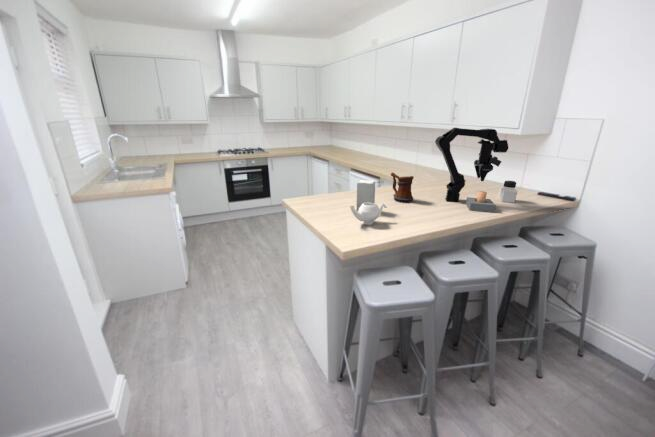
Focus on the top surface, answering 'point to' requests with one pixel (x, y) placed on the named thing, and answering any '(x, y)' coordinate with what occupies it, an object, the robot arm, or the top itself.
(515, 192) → the medicine bottle
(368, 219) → the teapot
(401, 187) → the mug
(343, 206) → the top surface
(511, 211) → the top surface
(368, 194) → the skincare box
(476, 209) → the socket block
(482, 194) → the peg
